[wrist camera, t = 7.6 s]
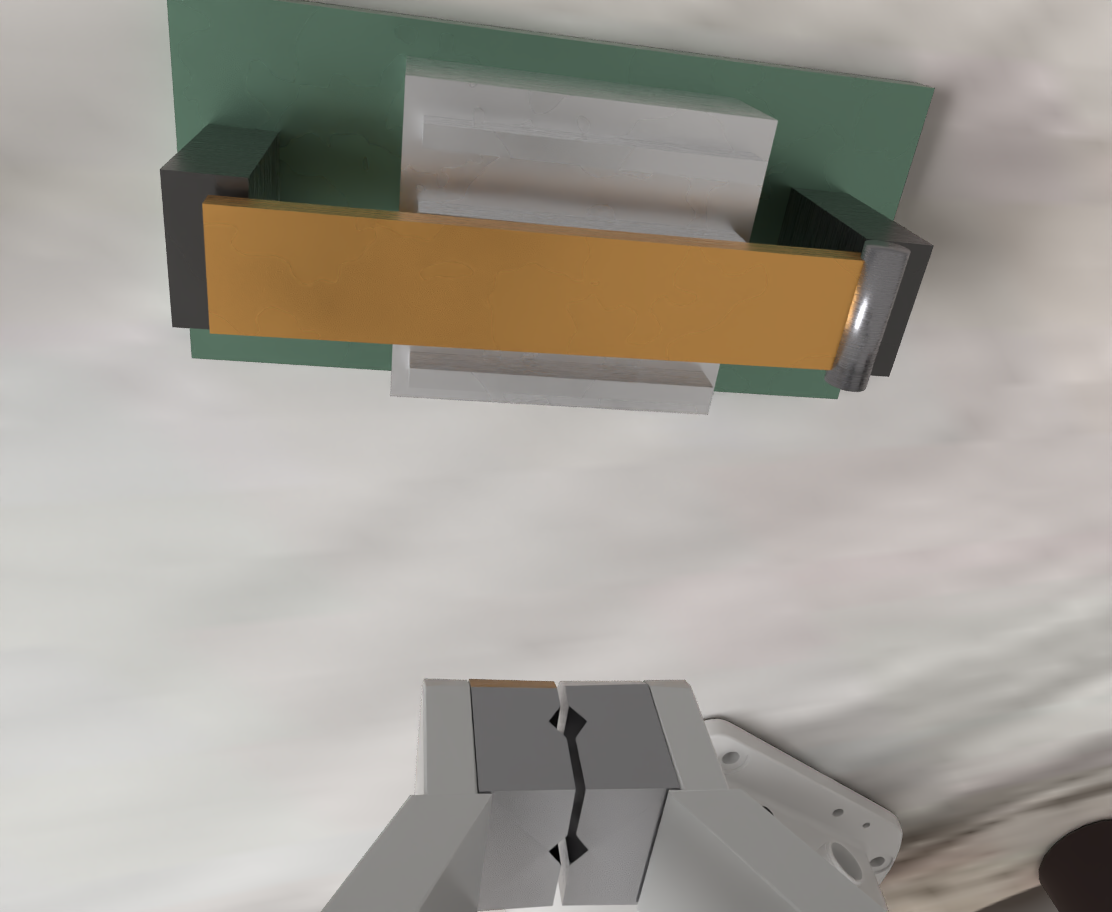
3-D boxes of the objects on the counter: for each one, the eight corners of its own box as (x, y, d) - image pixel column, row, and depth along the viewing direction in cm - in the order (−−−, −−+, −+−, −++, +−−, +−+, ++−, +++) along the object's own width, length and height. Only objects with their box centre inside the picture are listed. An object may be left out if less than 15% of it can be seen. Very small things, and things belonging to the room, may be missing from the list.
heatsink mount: (916, 82, 30) (1043, 121, 24) (825, 385, 35) (909, 479, 29) (176, -16, 26) (102, -1, 20) (199, 343, 31) (147, 443, 25)
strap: (895, 240, 25) (919, 255, 24) (853, 373, 27) (873, 392, 26) (207, 177, 21) (197, 191, 20) (216, 336, 23) (207, 356, 22)
